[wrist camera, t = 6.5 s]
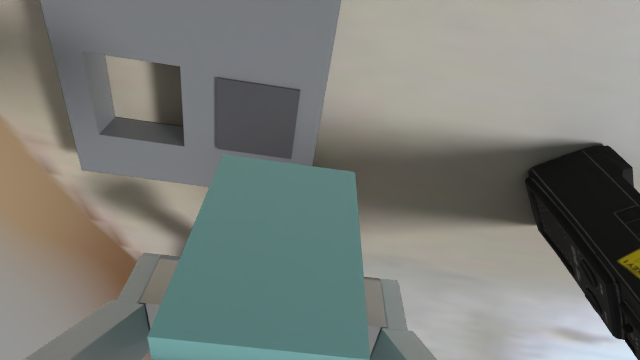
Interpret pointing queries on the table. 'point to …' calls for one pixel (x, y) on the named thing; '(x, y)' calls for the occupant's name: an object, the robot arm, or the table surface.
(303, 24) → the outlet plate
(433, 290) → the table surface
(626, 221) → the portable radio
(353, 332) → the block
